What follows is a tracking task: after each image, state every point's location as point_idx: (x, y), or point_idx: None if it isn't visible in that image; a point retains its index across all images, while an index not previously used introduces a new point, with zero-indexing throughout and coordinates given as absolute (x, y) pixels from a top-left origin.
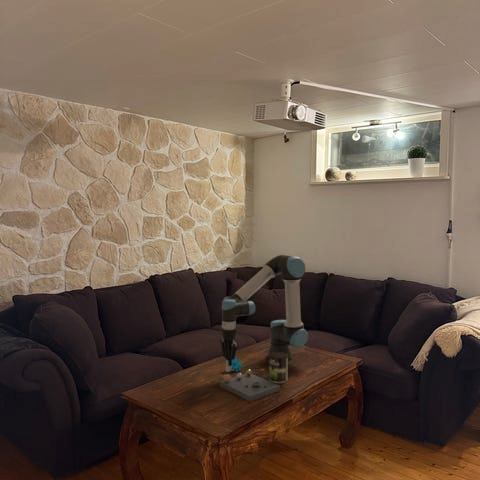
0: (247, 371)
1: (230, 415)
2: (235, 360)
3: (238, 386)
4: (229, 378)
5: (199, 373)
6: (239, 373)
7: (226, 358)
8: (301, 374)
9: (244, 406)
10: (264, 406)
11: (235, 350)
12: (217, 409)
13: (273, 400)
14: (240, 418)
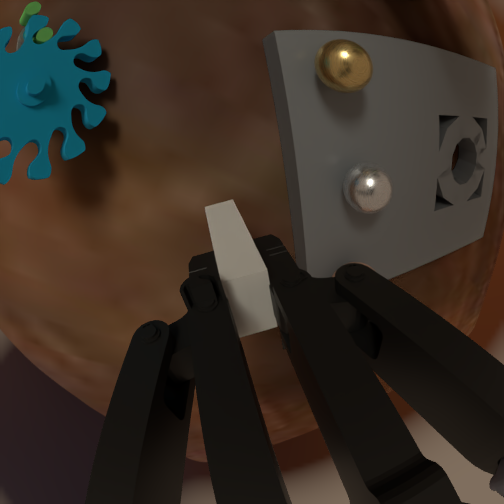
0: (361, 87)
1: (461, 306)
2: (3, 72)
3: (419, 238)
4: None
5: (67, 328)
6: (385, 198)
7: (238, 340)
8: None
9: (469, 258)
10: (498, 205)
11: (487, 368)
12: None
13: (500, 153)
14: (479, 288)
